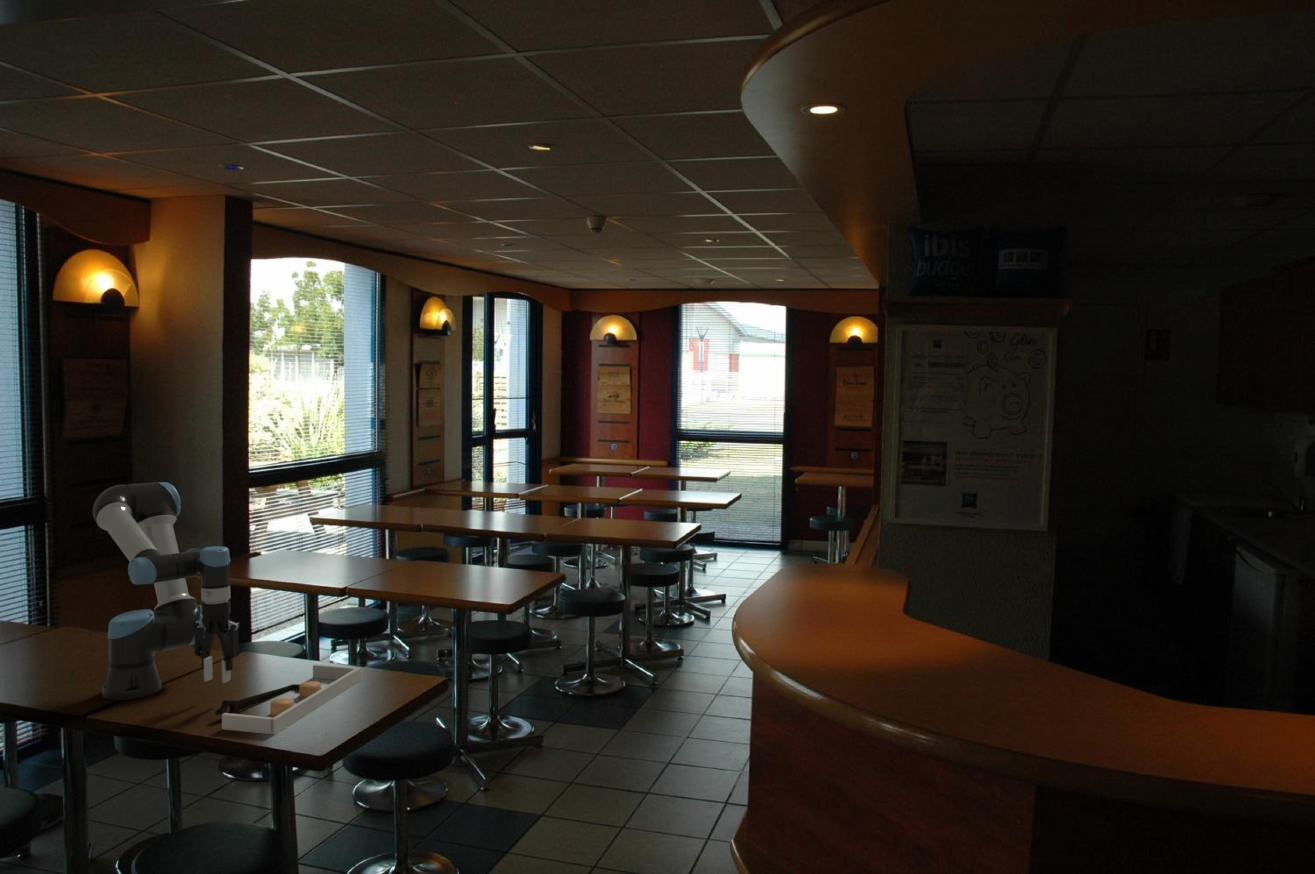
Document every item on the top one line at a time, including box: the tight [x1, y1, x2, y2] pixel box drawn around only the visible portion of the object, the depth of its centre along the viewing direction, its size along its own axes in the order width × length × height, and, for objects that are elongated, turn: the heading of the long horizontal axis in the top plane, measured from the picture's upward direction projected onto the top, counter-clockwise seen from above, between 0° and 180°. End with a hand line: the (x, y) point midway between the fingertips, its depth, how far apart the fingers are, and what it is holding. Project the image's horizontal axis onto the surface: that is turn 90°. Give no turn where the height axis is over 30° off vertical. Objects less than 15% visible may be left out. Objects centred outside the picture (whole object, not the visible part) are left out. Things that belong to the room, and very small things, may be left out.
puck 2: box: [298, 680, 322, 700], centre depth 266 cm, size 6×6×4 cm
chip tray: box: [221, 663, 362, 735], centre depth 260 cm, size 16×44×4 cm, turn 169°
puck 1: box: [270, 697, 295, 718], centre depth 252 cm, size 6×6×4 cm
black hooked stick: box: [214, 683, 301, 717], centre depth 258 cm, size 5×5×30 cm
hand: (217, 680), depth 260 cm, fingers open, 5 cm apart
